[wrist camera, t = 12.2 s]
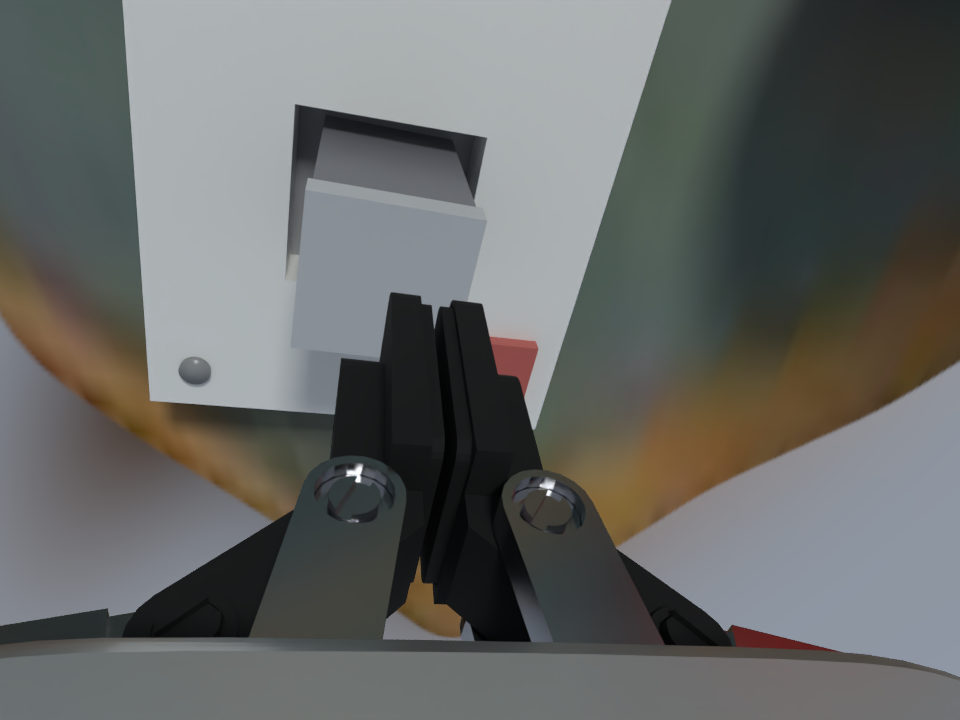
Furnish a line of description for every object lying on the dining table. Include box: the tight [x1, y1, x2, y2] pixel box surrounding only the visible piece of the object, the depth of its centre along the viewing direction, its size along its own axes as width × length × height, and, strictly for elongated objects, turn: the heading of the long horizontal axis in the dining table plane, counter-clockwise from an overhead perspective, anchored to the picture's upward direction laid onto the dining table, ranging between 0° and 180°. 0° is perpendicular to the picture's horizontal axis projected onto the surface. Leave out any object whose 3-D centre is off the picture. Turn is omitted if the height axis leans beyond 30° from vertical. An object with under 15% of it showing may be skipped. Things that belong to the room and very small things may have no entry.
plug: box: [290, 115, 487, 358], centre depth 19 cm, size 4×4×7 cm
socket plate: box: [123, 0, 671, 429], centre depth 21 cm, size 14×16×3 cm
